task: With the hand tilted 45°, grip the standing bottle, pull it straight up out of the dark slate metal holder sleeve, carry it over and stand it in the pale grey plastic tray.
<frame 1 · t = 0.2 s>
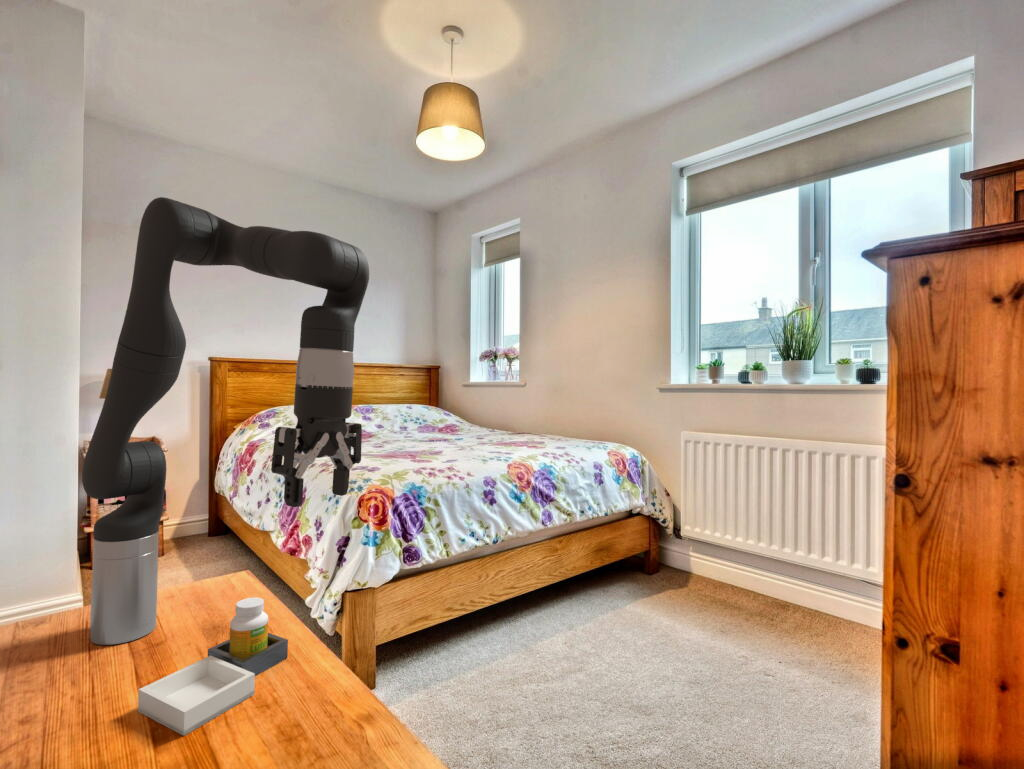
hand: (317, 500, 72), 29 cm above the table, tool pointing down, fingers open, 8 cm apart
supplement bottle: (248, 664, 82), resting in holder sleeve
holder sleeve: (248, 663, 82), on the table
tray: (198, 702, 72), on the table
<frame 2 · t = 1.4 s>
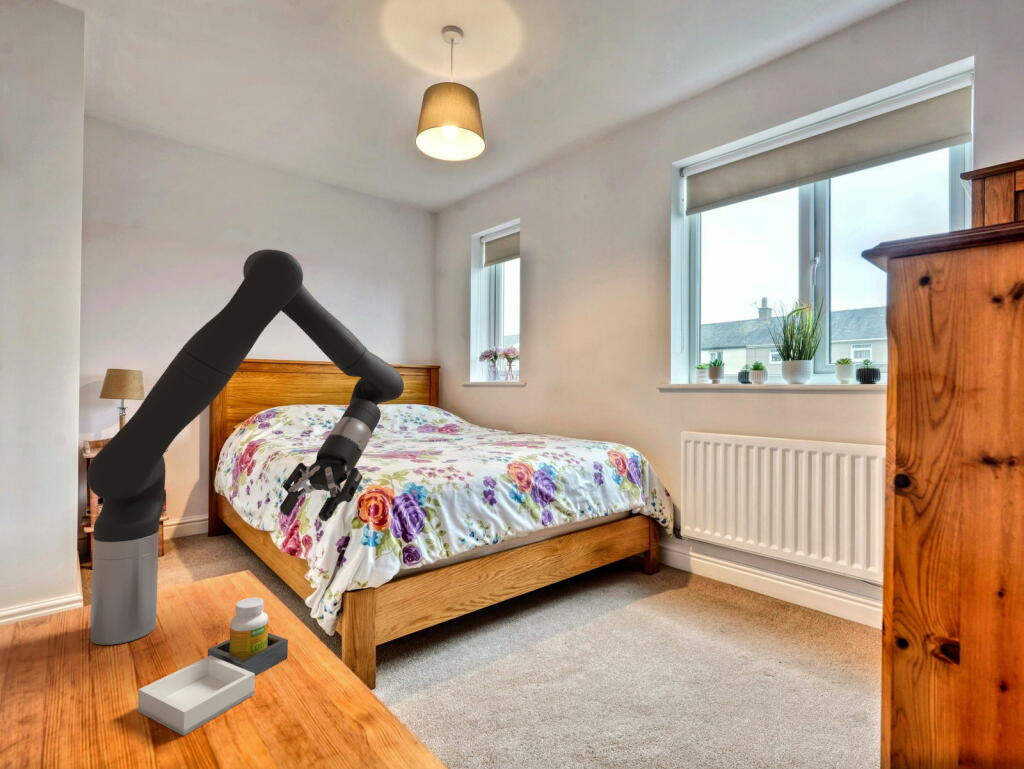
hand: (302, 516, 93), 21 cm above the table, tool tilted 45°, fingers open, 8 cm apart
nothing on the table moved.
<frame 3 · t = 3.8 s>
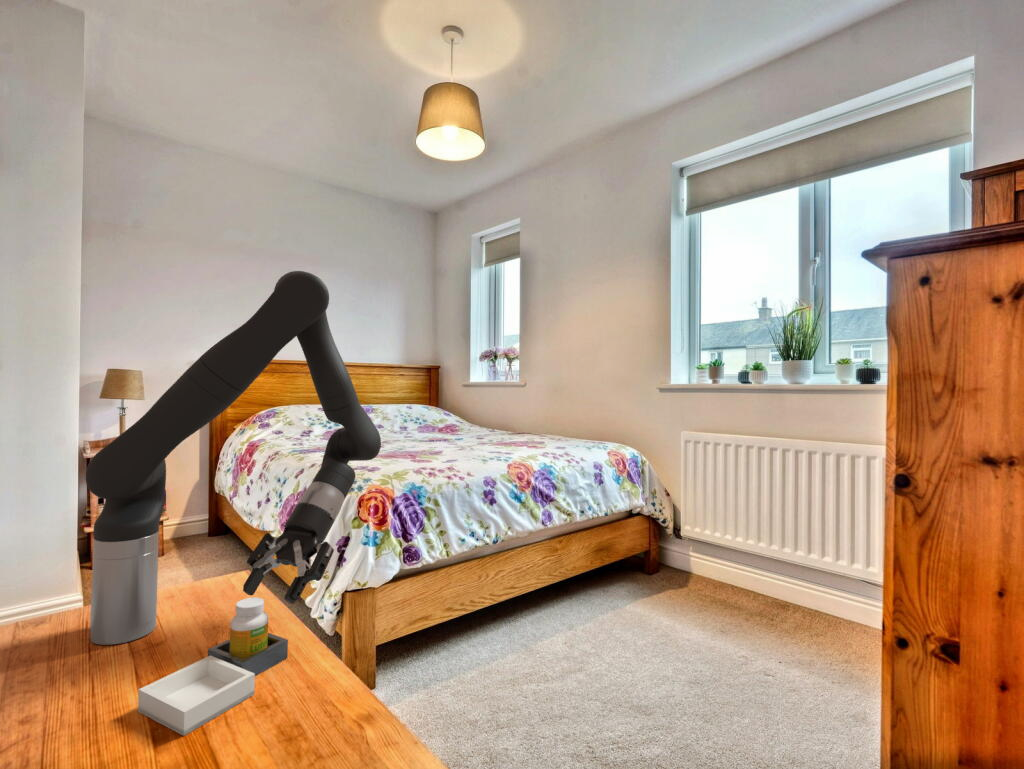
hand: (267, 597, 86), 9 cm above the table, tool tilted 45°, fingers open, 8 cm apart
nothing on the table moved.
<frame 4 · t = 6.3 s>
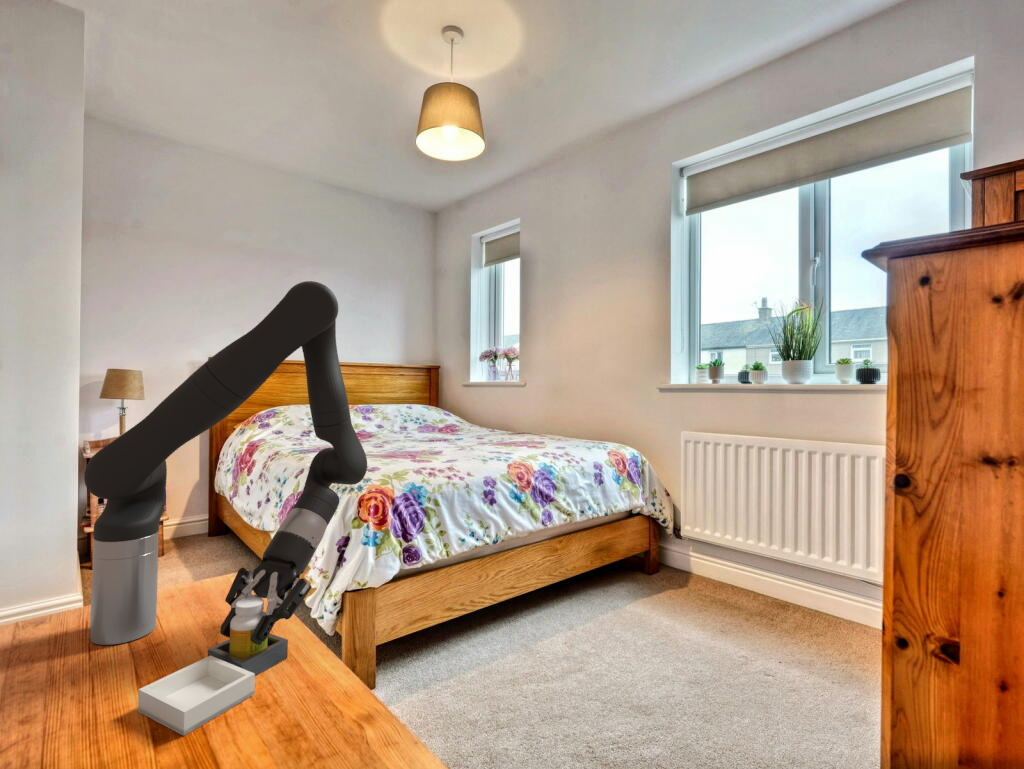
hand: (240, 638, 81), 5 cm above the table, tool tilted 45°, fingers closed on supplement bottle, 5 cm apart
supplement bottle: (248, 664, 82), resting in holder sleeve, touching gripper
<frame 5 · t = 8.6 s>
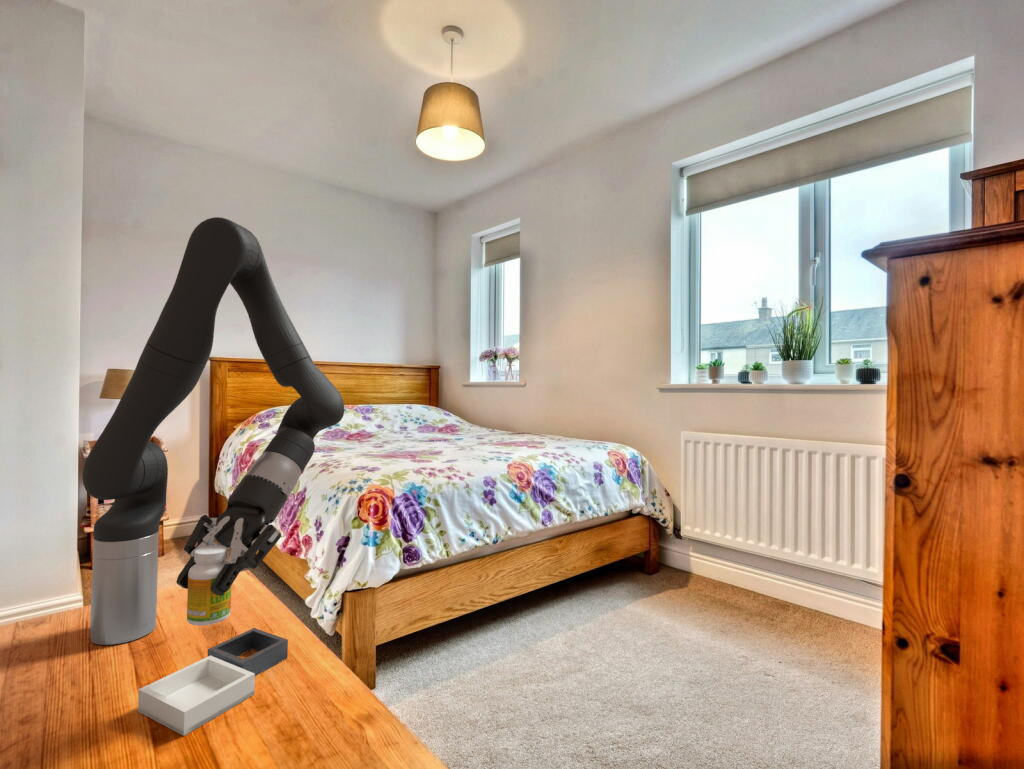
hand: (199, 589, 72), 16 cm above the table, tool tilted 45°, fingers closed on supplement bottle, 5 cm apart
supplement bottle: (209, 619, 74), point 11 cm above the table, touching gripper
when the fingers open (7 cm above the table, at t = 11.4 s): supplement bottle drops 1 cm, resting on tray.
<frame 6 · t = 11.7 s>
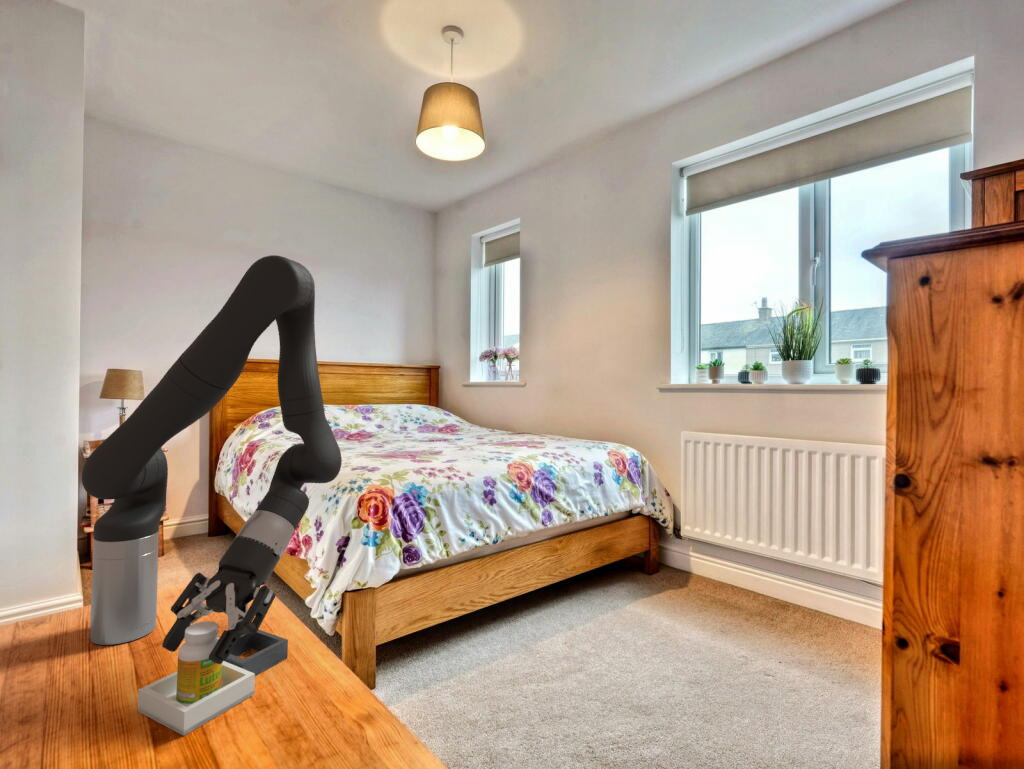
hand: (190, 655, 71), 7 cm above the table, tool tilted 45°, fingers open, 8 cm apart
supplement bottle: (198, 698, 72), resting on tray
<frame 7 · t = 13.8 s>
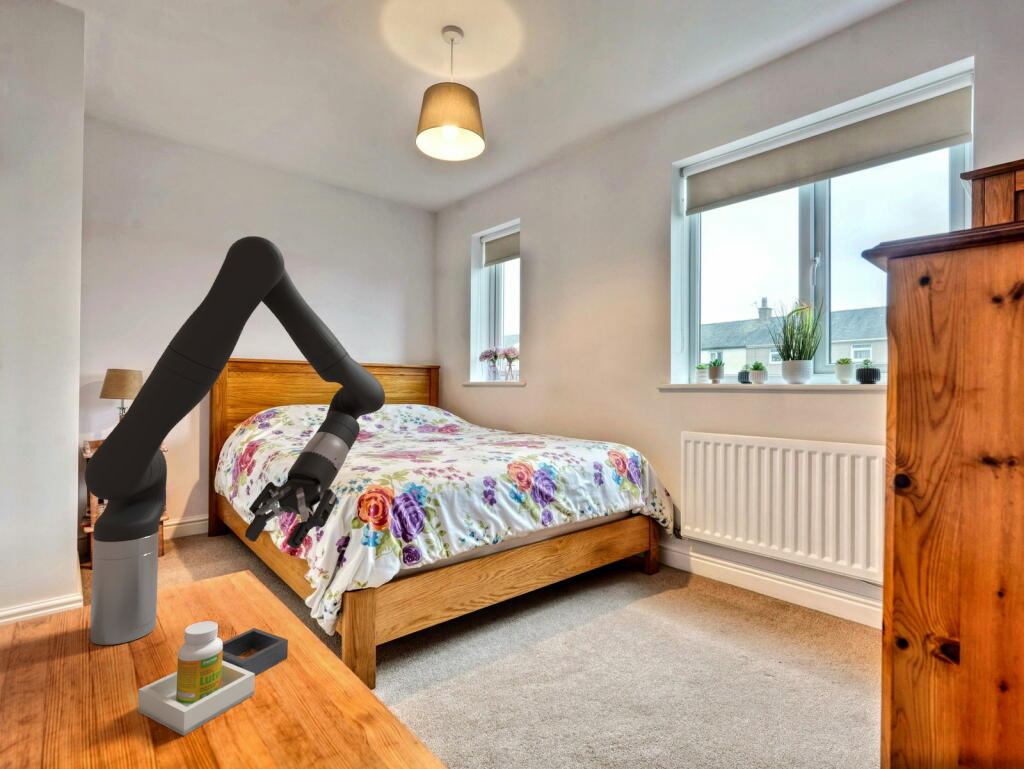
hand: (269, 542, 84), 19 cm above the table, tool tilted 45°, fingers open, 8 cm apart
nothing on the table moved.
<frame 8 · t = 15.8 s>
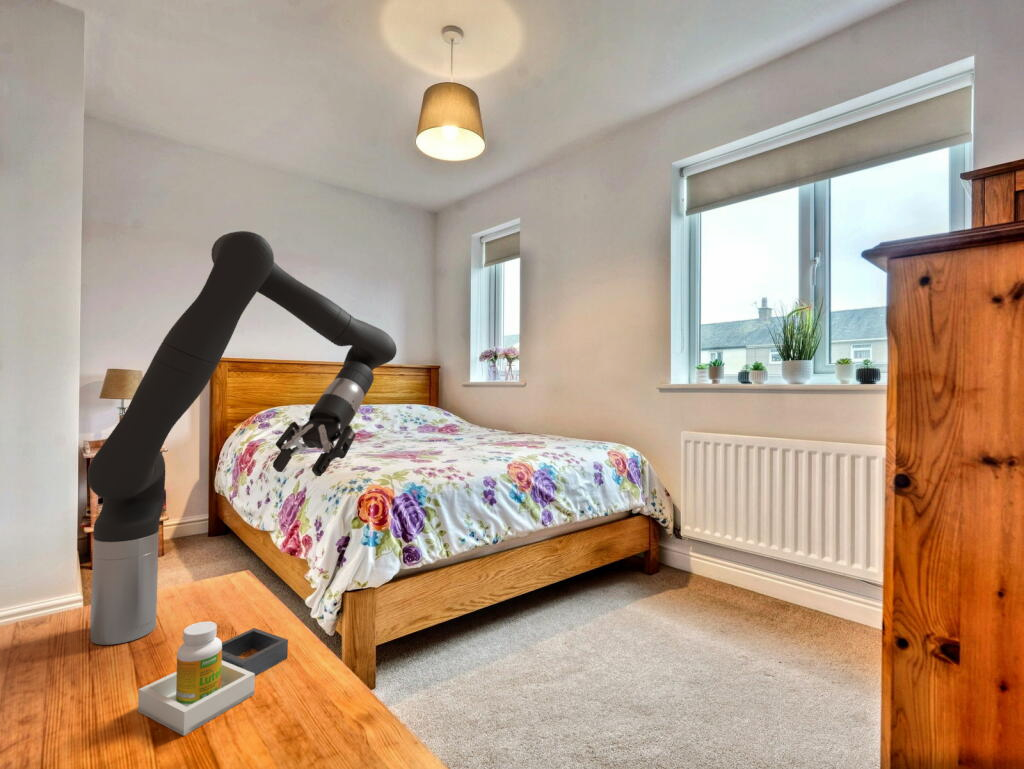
hand: (295, 471, 93), 29 cm above the table, tool tilted 45°, fingers open, 8 cm apart
nothing on the table moved.
at the end: supplement bottle inside the target area on the tray (0.3 cm from its centre), point 0.4 cm above the tray's base; supplement bottle tilted 0°; the gripper is holding nothing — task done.
